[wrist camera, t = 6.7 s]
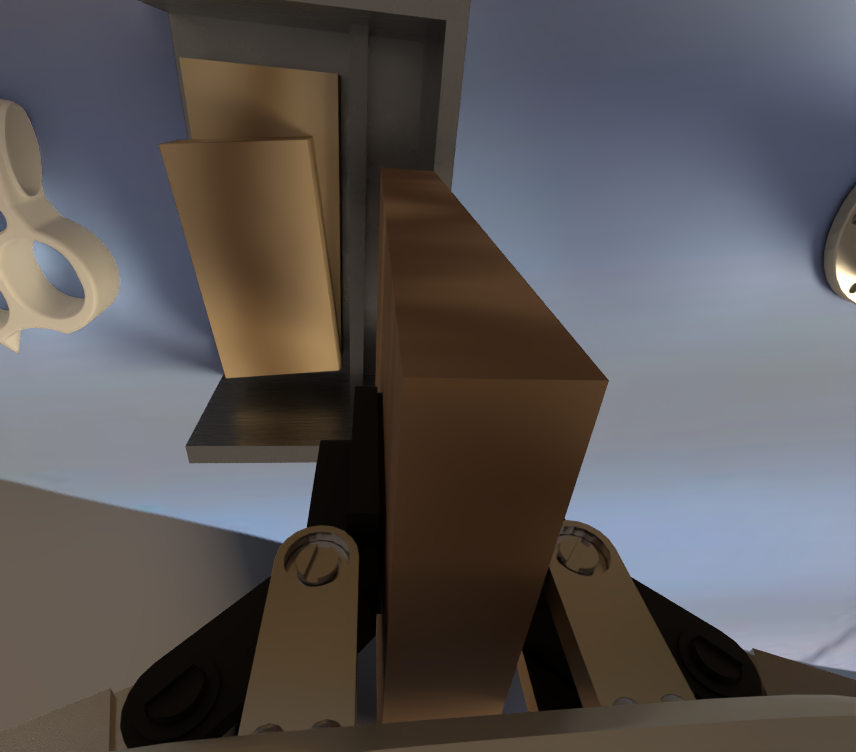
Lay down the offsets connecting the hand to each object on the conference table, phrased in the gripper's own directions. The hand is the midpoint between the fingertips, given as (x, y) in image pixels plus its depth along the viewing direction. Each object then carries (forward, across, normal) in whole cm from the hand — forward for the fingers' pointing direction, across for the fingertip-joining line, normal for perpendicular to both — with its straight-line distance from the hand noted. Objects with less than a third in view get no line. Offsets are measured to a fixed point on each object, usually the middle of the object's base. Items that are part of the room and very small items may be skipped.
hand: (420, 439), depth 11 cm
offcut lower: (+20, +6, 0) cm, 21 cm away
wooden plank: (+10, 0, 0) cm, 10 cm away
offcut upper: (+17, +7, +1) cm, 18 cm away
